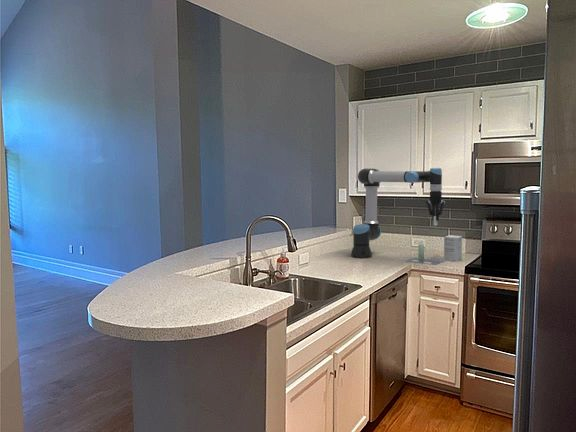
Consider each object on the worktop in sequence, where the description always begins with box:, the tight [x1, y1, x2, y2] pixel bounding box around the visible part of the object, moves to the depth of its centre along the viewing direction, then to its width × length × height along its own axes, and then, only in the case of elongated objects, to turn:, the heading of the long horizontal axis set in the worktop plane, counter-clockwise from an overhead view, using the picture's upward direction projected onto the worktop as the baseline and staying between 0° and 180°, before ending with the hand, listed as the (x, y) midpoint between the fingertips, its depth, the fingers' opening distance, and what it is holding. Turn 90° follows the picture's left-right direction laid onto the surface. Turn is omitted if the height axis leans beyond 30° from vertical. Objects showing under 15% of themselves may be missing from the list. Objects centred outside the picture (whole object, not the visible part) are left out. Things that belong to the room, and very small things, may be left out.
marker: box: [417, 242, 425, 262], centre depth 283 cm, size 4×4×12 cm
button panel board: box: [404, 255, 446, 266], centre depth 283 cm, size 22×16×4 cm
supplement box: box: [443, 234, 463, 262], centre depth 286 cm, size 10×9×17 cm
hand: (435, 225), depth 285 cm, fingers closed
